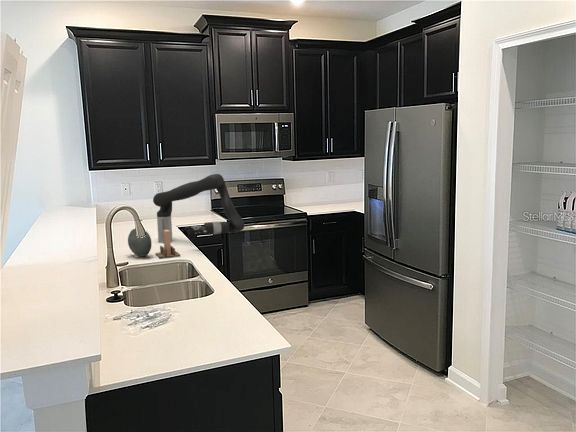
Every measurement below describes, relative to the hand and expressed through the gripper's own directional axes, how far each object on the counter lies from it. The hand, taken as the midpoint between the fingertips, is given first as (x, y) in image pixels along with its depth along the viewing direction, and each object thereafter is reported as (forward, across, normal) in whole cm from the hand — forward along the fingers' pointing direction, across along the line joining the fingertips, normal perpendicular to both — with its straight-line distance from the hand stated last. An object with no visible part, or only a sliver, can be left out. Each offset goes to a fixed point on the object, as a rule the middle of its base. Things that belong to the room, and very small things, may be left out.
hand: (186, 230), depth 290 cm
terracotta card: (+12, +1, +13) cm, 18 cm away
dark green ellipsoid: (+27, -4, +14) cm, 31 cm away
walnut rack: (+12, +1, +14) cm, 18 cm away
